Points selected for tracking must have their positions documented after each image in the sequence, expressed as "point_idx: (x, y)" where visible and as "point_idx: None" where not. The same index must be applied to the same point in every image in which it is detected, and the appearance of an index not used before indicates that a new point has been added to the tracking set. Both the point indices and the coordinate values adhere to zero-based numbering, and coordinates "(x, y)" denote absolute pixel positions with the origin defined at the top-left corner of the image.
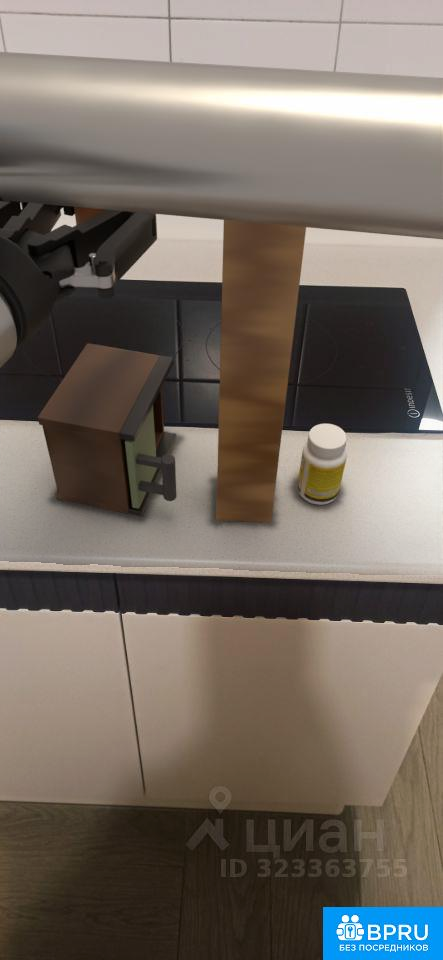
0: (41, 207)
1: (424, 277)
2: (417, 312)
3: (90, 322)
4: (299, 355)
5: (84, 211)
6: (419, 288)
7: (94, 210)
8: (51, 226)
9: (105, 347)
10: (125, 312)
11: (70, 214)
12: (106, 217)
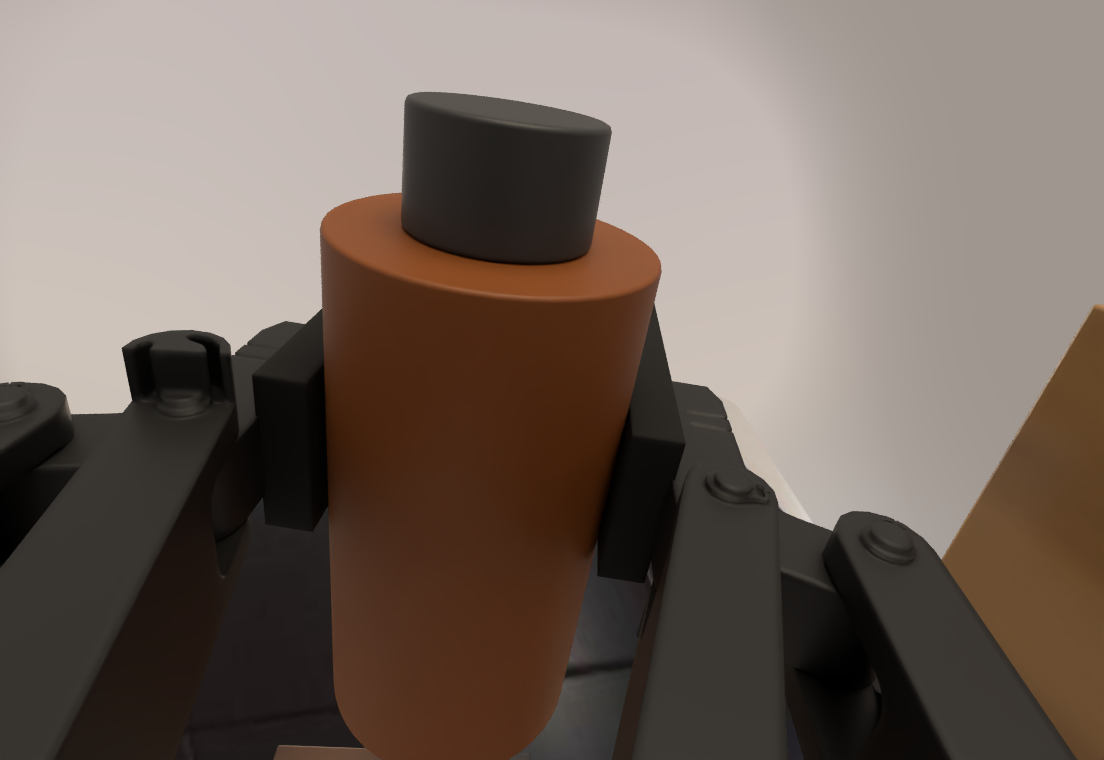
0: (102, 665)
1: (738, 425)
2: (764, 480)
3: (250, 562)
4: (649, 586)
5: (420, 543)
6: (742, 442)
7: (487, 537)
8: (194, 681)
9: (334, 752)
10: (320, 530)
11: (304, 524)
12: (753, 713)
